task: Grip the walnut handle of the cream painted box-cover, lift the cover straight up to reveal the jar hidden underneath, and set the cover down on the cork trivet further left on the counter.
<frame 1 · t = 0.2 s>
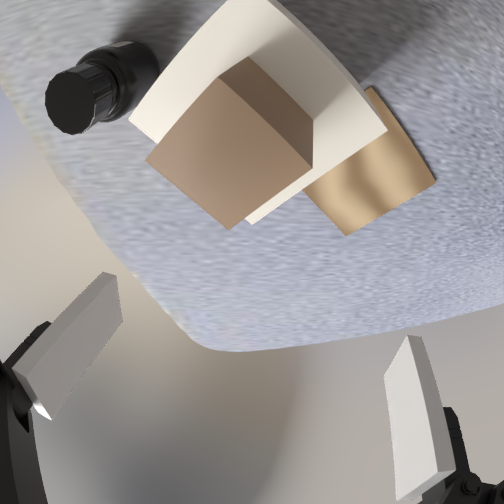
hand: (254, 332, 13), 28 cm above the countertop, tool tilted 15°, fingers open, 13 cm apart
trivet: (358, 168, 36), on the countertop
ink bottle: (129, 72, 32), on the countertop
cover: (273, 76, 30), on the countertop
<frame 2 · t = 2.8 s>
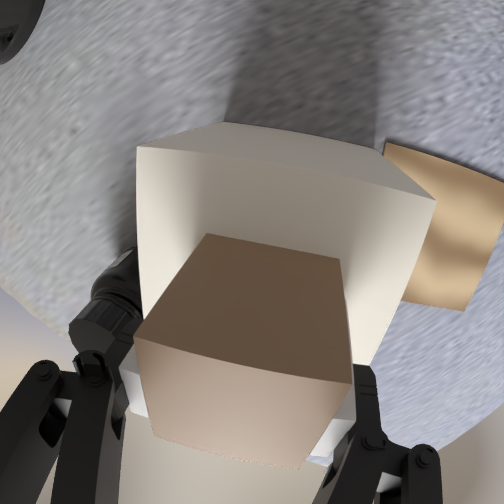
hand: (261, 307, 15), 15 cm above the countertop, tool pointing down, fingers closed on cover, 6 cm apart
trivet: (435, 237, 27), on the countertop
ink bottle: (152, 278, 35), on the countertop
cover: (286, 204, 28), on the countertop, touching gripper
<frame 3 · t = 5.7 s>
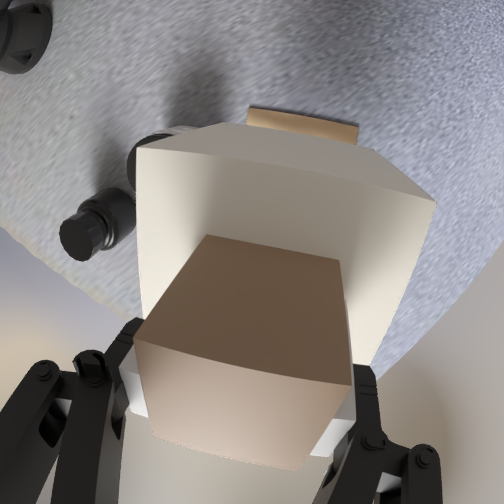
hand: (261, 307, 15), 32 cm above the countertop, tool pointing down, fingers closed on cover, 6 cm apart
trivet: (295, 168, 42), on the countertop
ink bottle: (117, 211, 51), on the countertop
cover: (286, 204, 28), point 16 cm above the countertop, touching gripper
jar: (193, 152, 44), on the countertop
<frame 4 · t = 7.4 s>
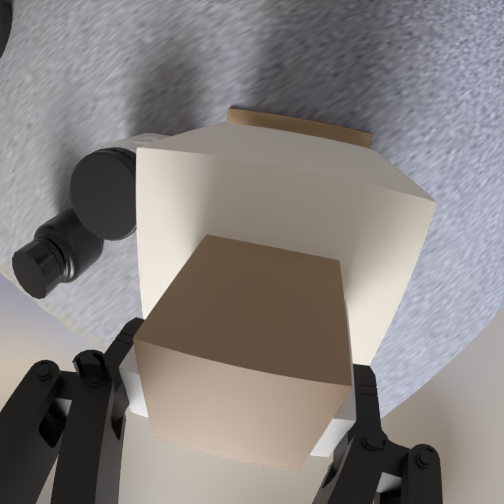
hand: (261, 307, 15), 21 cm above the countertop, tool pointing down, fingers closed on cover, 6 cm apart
trivet: (289, 186, 33), on the countertop
ink bottle: (82, 234, 42), on the countertop
cover: (286, 204, 28), point 6 cm above the countertop, touching gripper
jar: (161, 166, 35), on the countertop
when the fingers open (17 cm above the countertop, at t = 8.6 s): cover drops 1 cm, resting on trivet.
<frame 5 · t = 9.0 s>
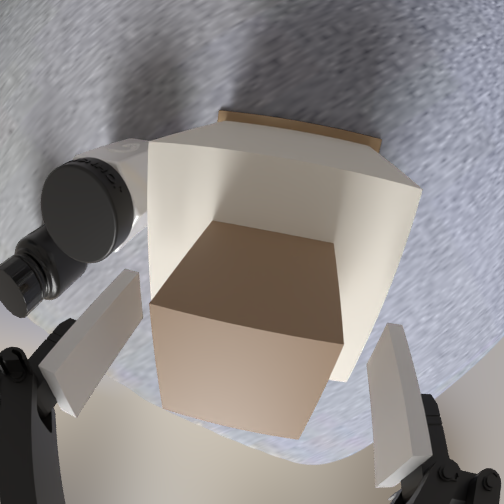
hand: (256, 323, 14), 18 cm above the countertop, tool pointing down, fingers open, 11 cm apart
trivet: (288, 198, 30), on the countertop
ink bottle: (66, 247, 38), on the countertop
cover: (285, 199, 30), resting on trivet
jar: (146, 175, 32), on the countertop
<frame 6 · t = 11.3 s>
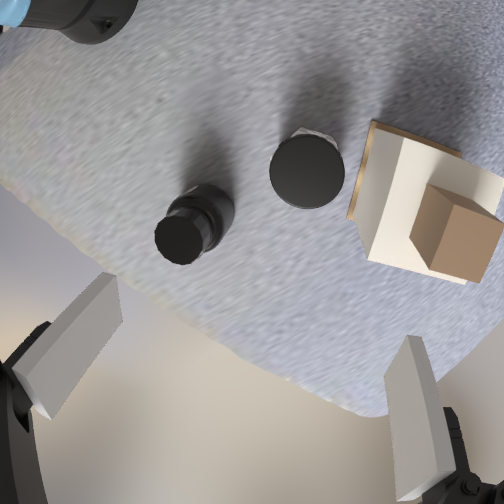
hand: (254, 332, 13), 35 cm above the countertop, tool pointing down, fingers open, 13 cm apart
trivet: (406, 184, 41), on the countertop
ink bottle: (208, 210, 50), on the countertop
cover: (405, 184, 41), resting on trivet
jar: (308, 156, 43), on the countertop
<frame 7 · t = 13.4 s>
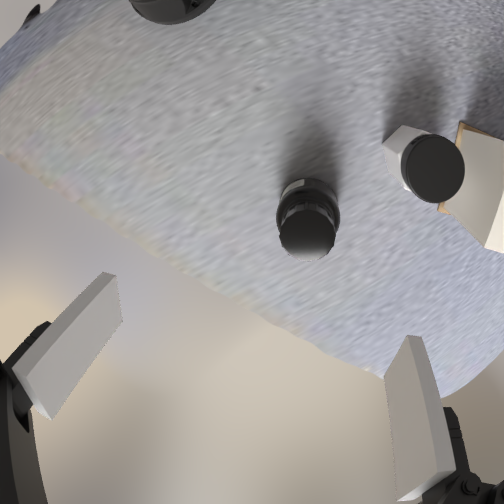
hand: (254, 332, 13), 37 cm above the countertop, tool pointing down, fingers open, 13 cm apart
trivet: (484, 179, 40), on the countertop
ink bottle: (308, 204, 48), on the countertop
cover: (484, 179, 39), resting on trivet
jar: (408, 153, 41), on the countertop
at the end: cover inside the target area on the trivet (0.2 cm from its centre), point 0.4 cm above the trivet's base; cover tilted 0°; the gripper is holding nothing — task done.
